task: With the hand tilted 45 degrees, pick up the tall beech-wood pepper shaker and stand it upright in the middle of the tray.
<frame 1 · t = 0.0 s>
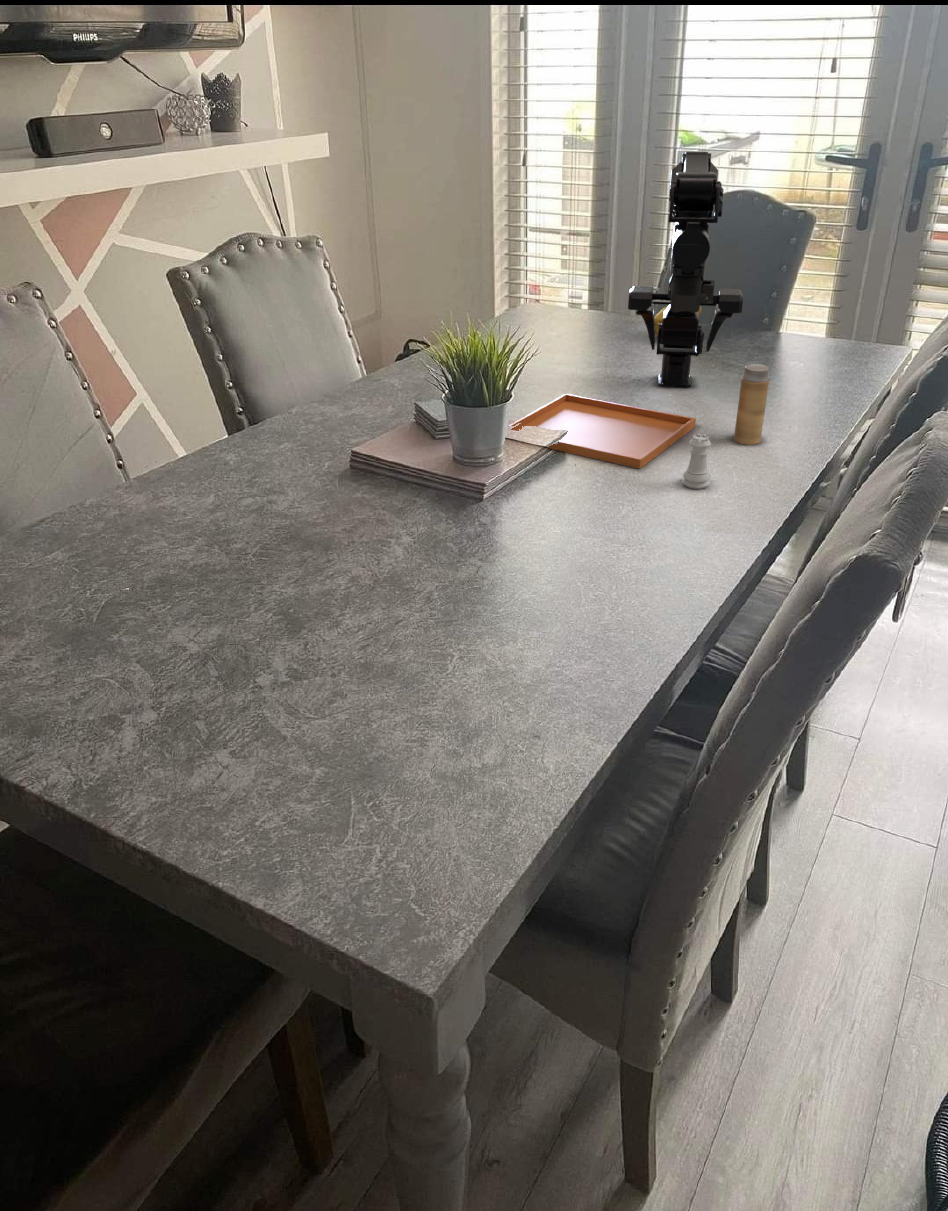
hand: (680, 350, 166), 15 cm above the table, tool pointing down, fingers open, 9 cm apart
rook chess piece: (695, 485, 153), on the table
shaker: (747, 439, 170), on the table
tray: (599, 432, 174), on the table
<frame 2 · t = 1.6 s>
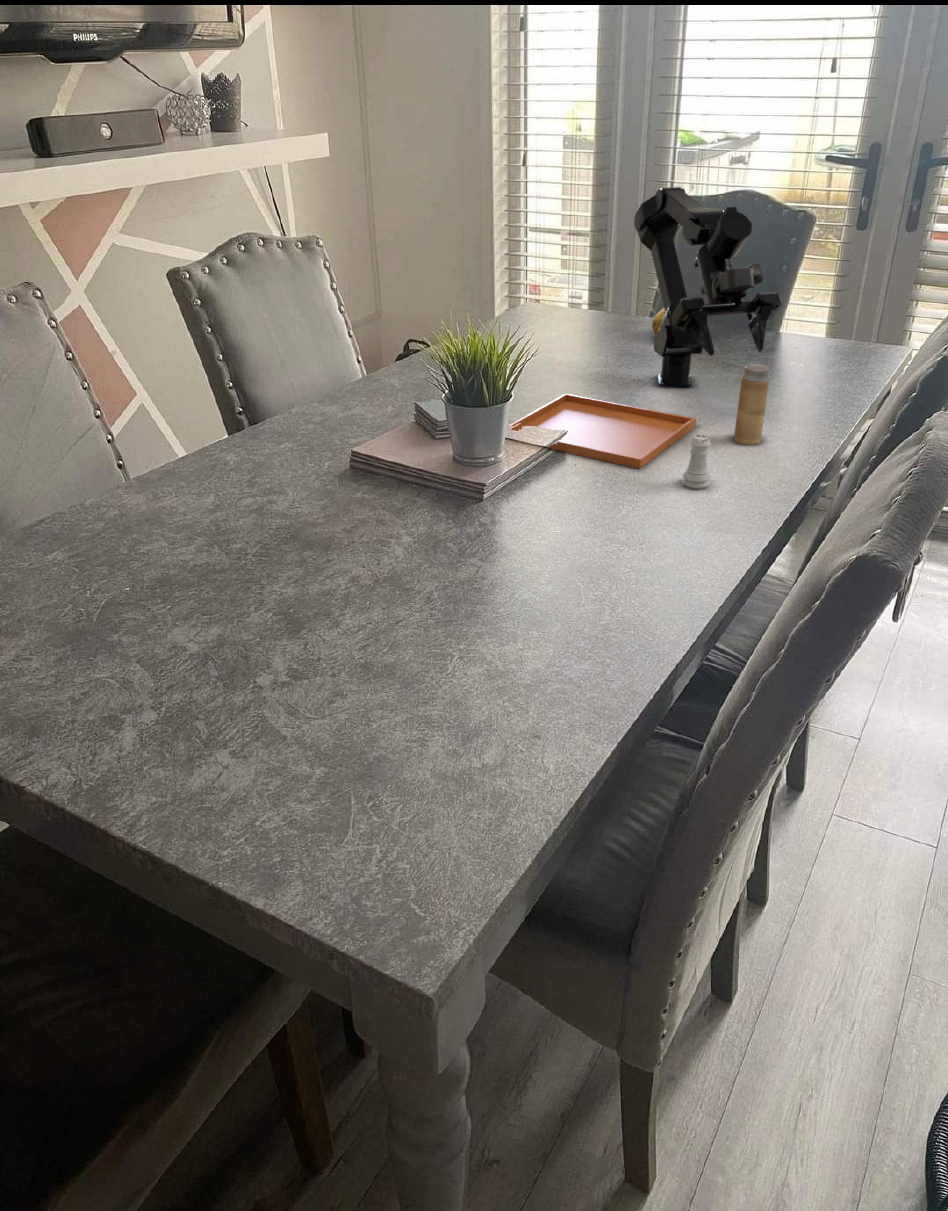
hand: (736, 352, 169), 13 cm above the table, tool tilted 45°, fingers open, 9 cm apart
nothing on the table moved.
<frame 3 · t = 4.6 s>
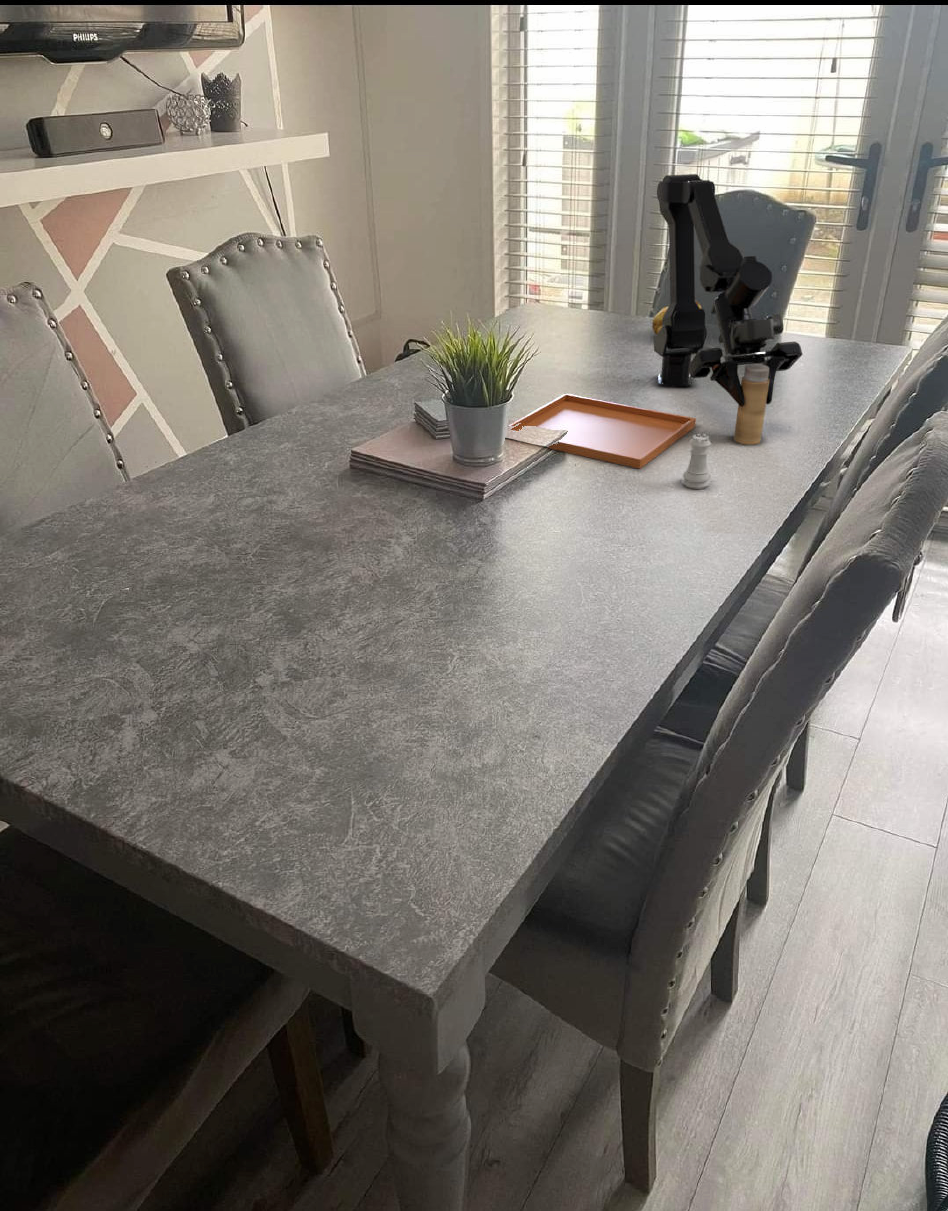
hand: (756, 404, 165), 7 cm above the table, tool tilted 45°, fingers closed on shaker, 4 cm apart
shaker: (747, 439, 170), on the table, touching gripper
everything else where it was.
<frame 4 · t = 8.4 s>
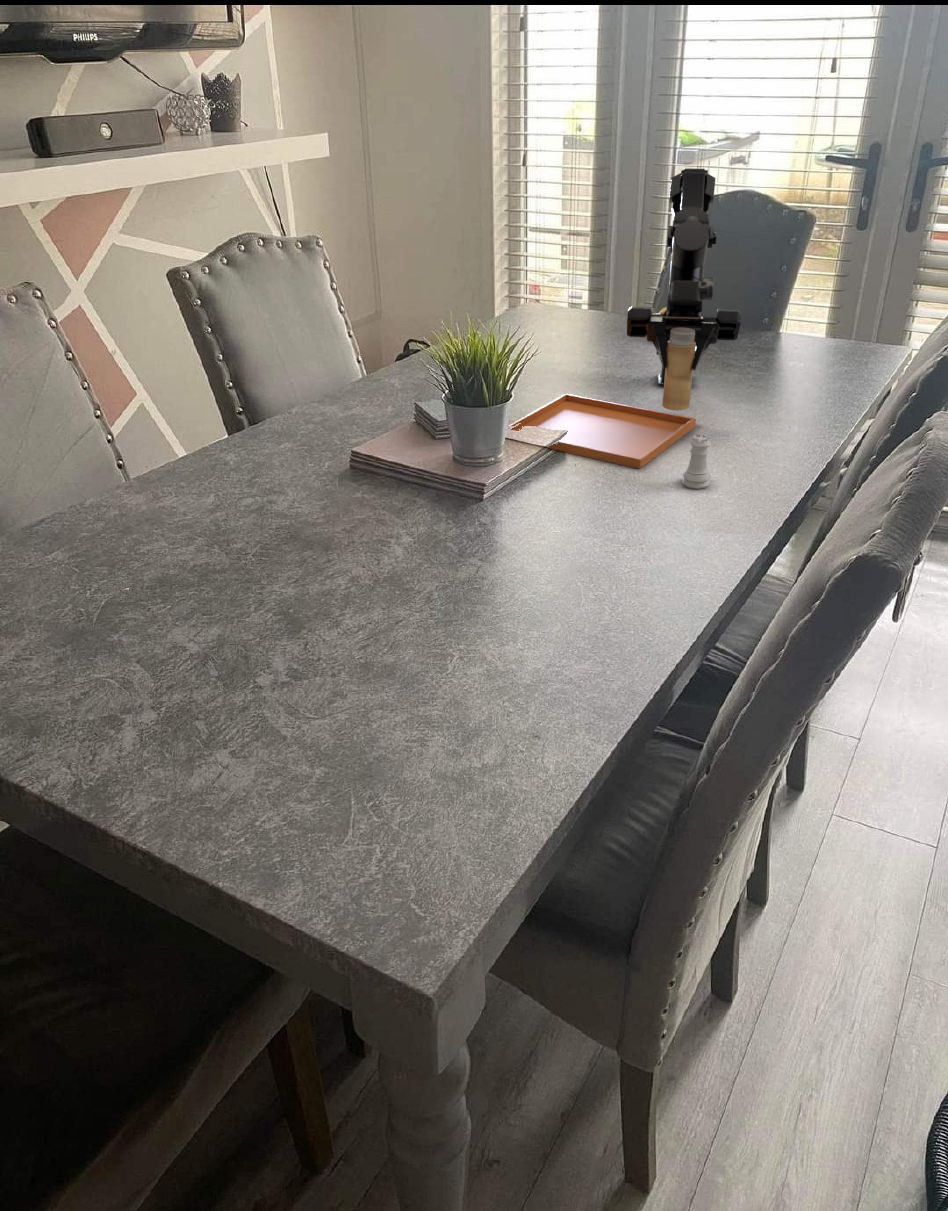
hand: (679, 368, 162), 13 cm above the table, tool tilted 45°, fingers closed on shaker, 4 cm apart
shaker: (675, 405, 166), point 6 cm above the table, touching gripper
everything else where it was.
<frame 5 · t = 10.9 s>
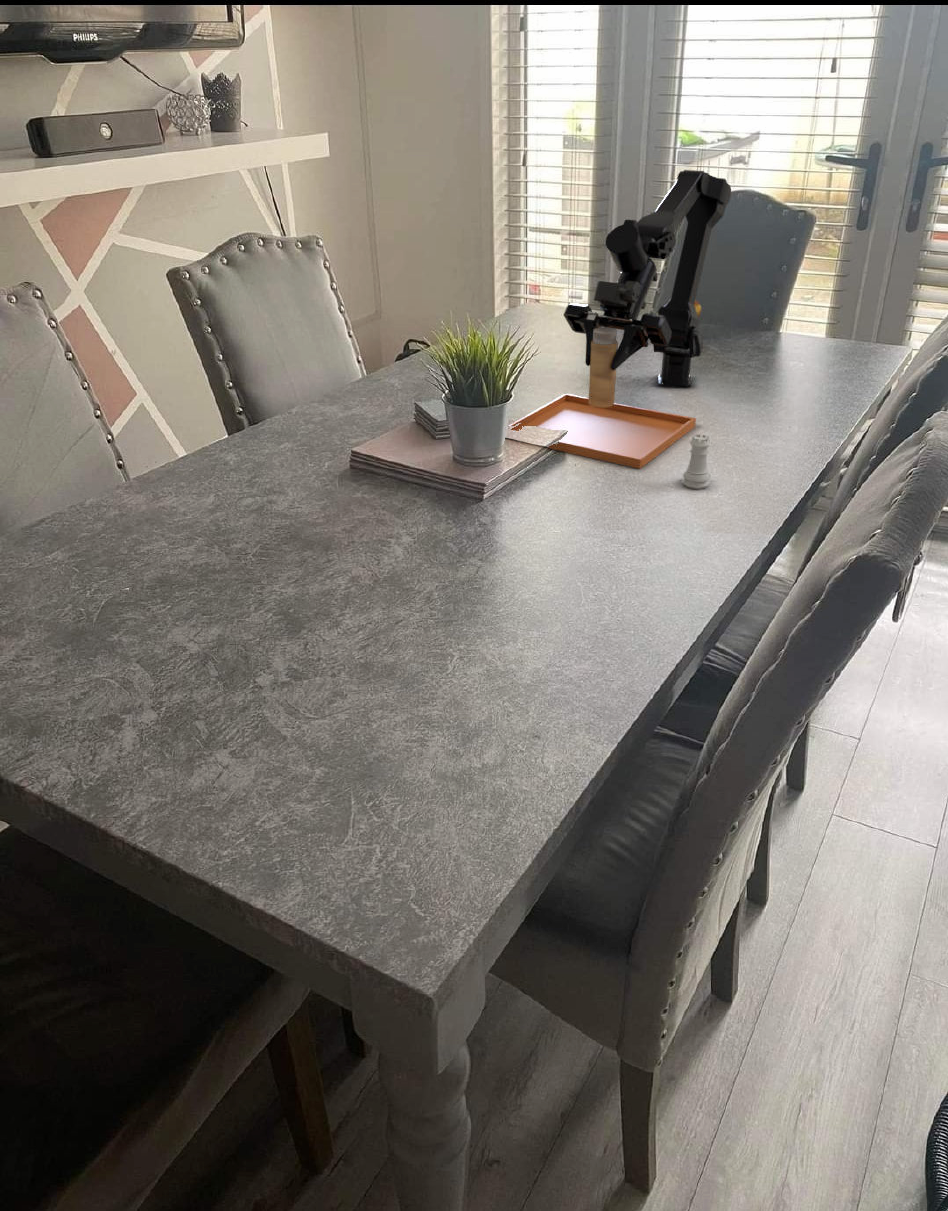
hand: (599, 366, 167), 12 cm above the table, tool tilted 45°, fingers closed on shaker, 4 cm apart
shaker: (601, 403, 171), point 5 cm above the table, touching gripper
everything else where it was.
when the fingers open (7 cm above the table, at t = 12.6 s): shaker stays where it is, resting on tray.
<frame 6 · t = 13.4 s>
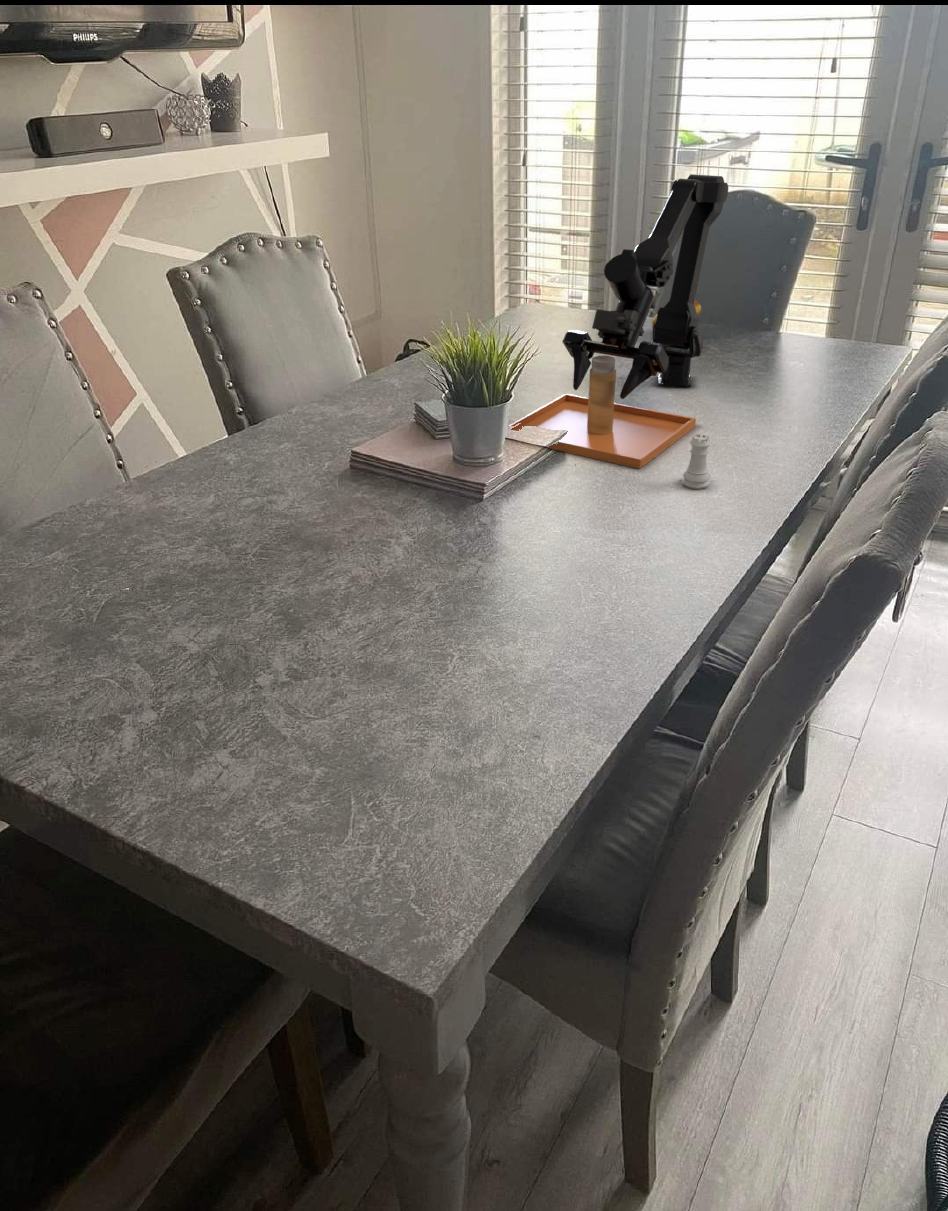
hand: (597, 393, 169), 8 cm above the table, tool tilted 45°, fingers open, 9 cm apart
shaker: (599, 429, 174), resting on tray
everything else where it was.
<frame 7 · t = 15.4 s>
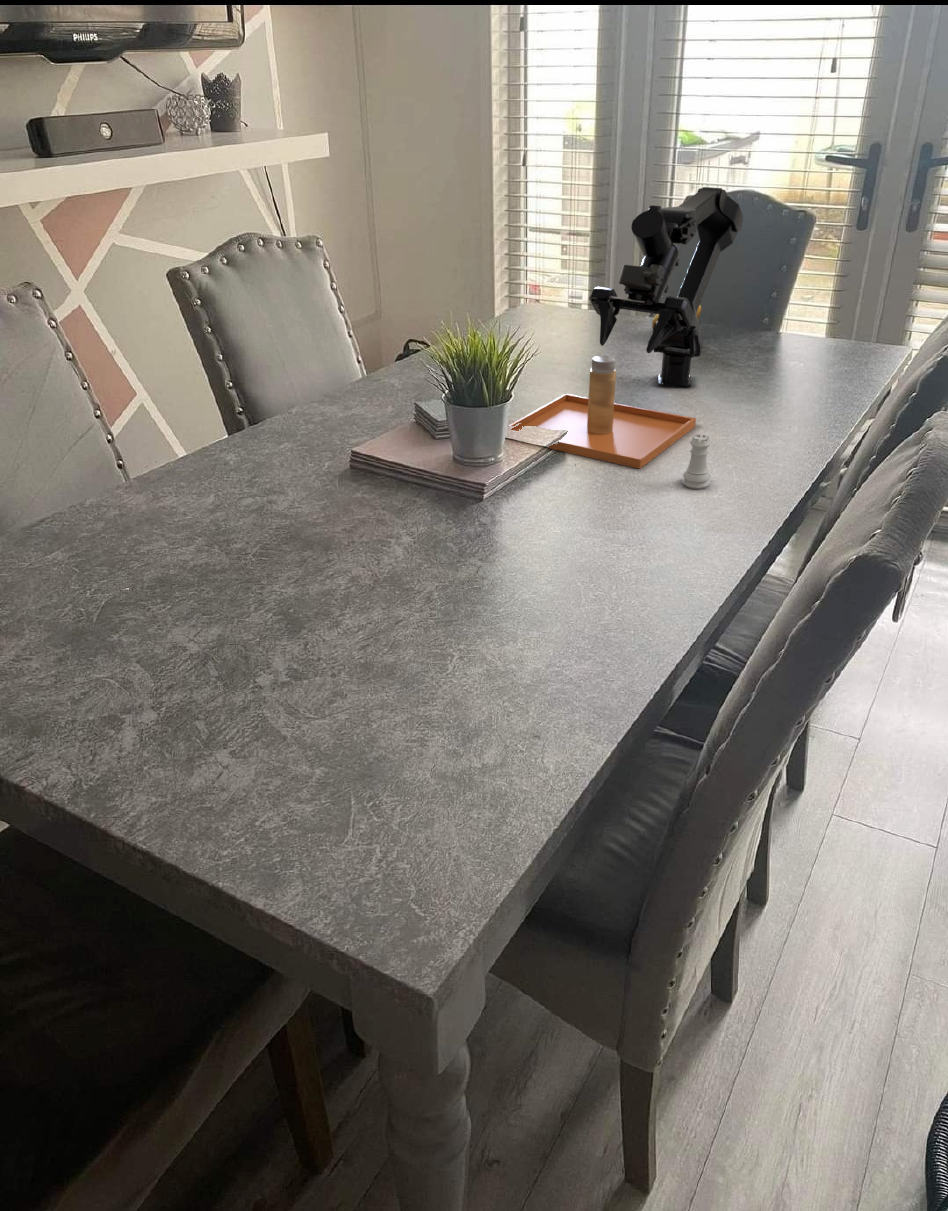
hand: (624, 348, 173), 13 cm above the table, tool tilted 45°, fingers open, 9 cm apart
nothing on the table moved.
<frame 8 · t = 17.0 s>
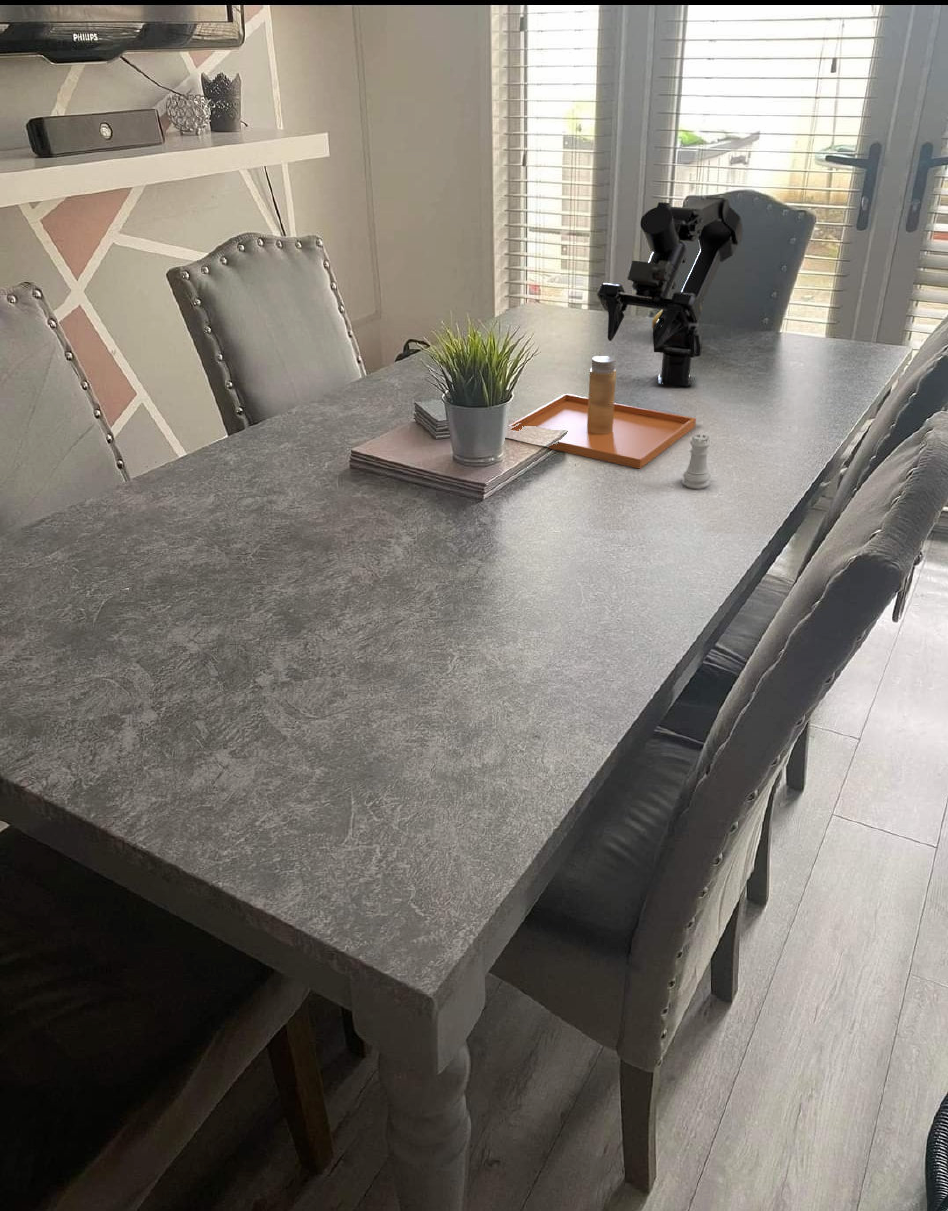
hand: (631, 343, 174), 14 cm above the table, tool tilted 45°, fingers open, 9 cm apart
nothing on the table moved.
at the end: shaker inside the target area in the tray (0.1 cm from its centre), point 0.4 cm above the tray's base; shaker tilted 0°; the gripper is holding nothing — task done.
